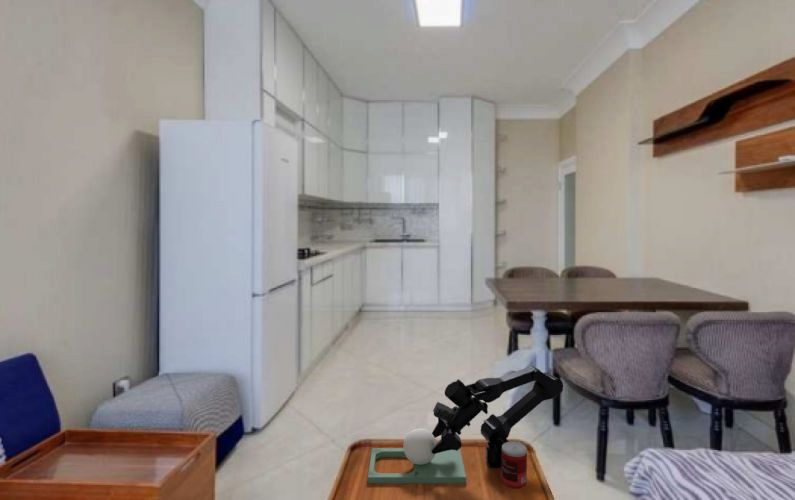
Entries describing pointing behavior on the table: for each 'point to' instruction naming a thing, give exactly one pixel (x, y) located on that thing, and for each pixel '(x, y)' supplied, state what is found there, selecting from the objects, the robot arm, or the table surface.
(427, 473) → the putting board
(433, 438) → the ball
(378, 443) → the table surface
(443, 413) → the robot arm
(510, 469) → the canned food
